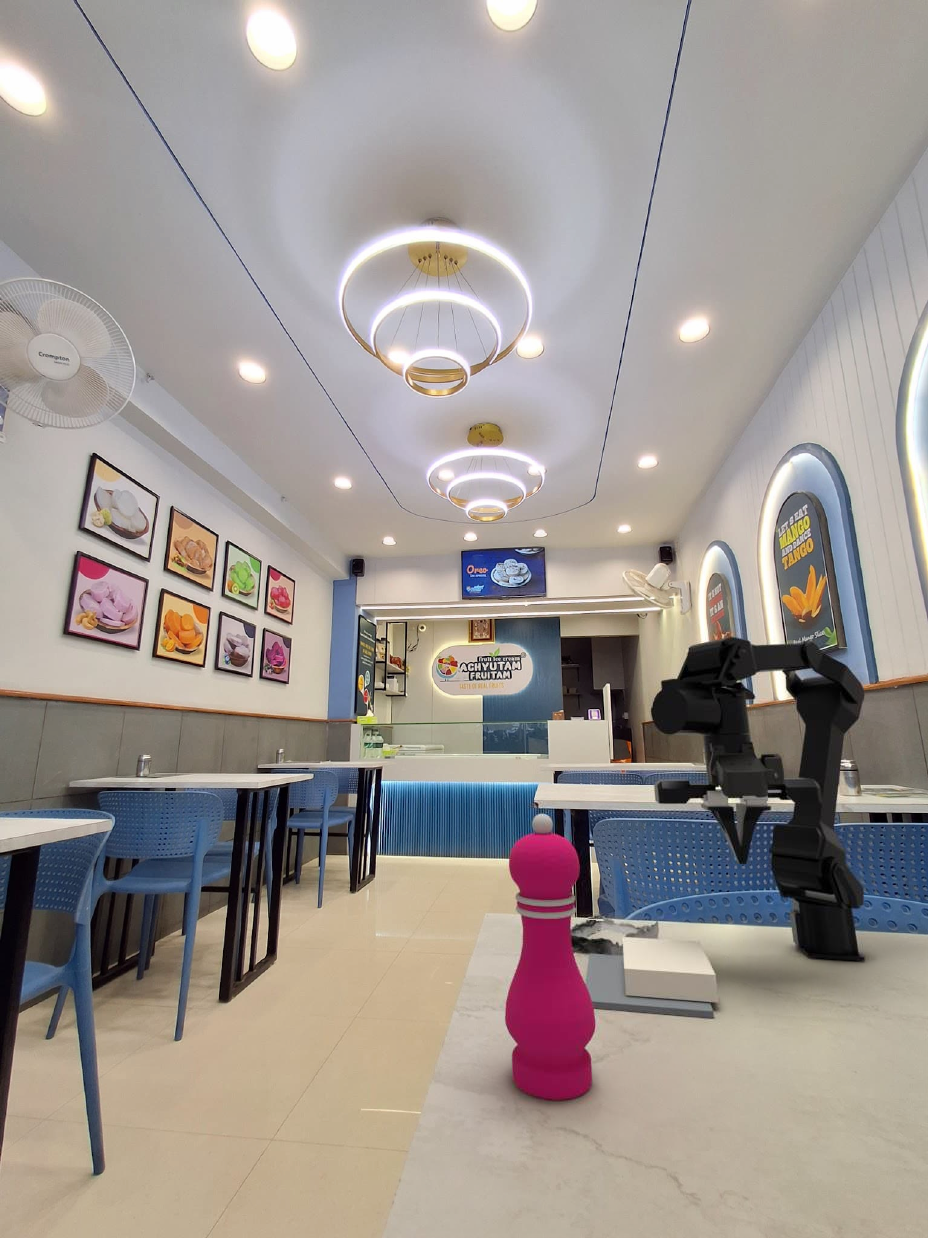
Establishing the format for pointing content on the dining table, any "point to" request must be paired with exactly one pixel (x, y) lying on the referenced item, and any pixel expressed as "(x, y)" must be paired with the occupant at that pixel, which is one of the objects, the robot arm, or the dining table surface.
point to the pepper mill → (548, 972)
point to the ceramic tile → (668, 970)
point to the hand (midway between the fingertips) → (741, 864)
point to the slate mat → (611, 994)
